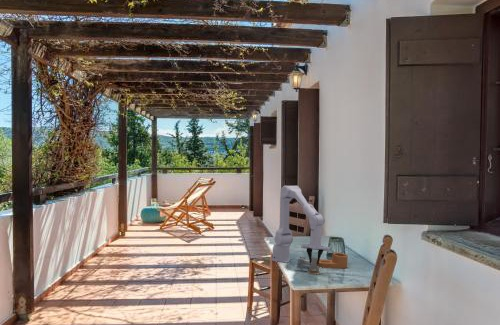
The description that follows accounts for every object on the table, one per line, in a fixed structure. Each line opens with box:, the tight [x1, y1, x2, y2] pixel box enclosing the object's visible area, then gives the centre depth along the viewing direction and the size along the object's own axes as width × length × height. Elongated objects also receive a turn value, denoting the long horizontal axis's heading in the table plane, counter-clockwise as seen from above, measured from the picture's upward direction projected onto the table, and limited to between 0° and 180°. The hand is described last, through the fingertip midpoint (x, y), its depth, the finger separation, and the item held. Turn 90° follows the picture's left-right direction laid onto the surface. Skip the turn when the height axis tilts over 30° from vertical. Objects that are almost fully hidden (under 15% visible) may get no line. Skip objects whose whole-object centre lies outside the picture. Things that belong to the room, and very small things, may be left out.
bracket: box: [317, 252, 349, 270], centre depth 224 cm, size 18×8×7 cm, turn 92°
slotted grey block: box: [307, 256, 320, 274], centre depth 210 cm, size 3×5×7 cm, turn 73°
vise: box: [297, 255, 312, 269], centre depth 218 cm, size 10×11×5 cm
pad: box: [306, 269, 321, 276], centre depth 210 cm, size 6×6×1 cm
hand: (314, 263), depth 210 cm, fingers open, 3 cm apart
